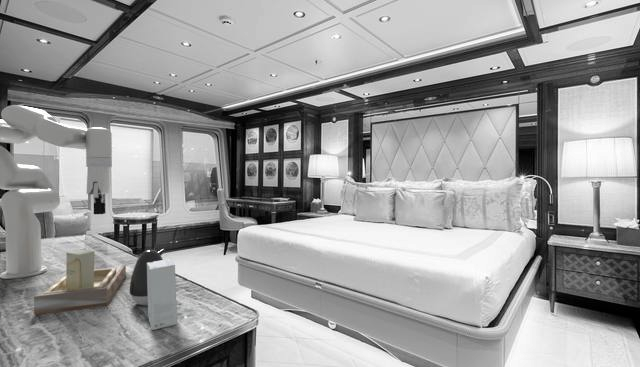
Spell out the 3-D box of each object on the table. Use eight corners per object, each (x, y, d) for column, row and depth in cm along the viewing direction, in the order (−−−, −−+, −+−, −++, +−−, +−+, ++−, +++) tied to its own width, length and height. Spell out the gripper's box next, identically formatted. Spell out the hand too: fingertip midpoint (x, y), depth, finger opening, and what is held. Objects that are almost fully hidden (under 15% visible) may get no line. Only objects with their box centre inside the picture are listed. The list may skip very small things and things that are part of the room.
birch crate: (69, 284, 102) (69, 272, 102) (116, 279, 107) (116, 267, 107) (43, 308, 84) (43, 293, 83) (101, 301, 89) (101, 287, 89)
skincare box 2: (177, 325, 77) (177, 265, 76) (149, 331, 74) (149, 269, 73) (172, 312, 84) (171, 257, 83) (146, 318, 80) (146, 260, 80)
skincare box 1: (65, 293, 91) (64, 252, 91) (81, 288, 96) (81, 249, 95) (79, 296, 89) (78, 254, 89) (95, 291, 93) (95, 250, 93)
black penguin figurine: (178, 297, 94) (177, 247, 94) (148, 311, 84) (148, 255, 84) (152, 293, 98) (151, 244, 97) (121, 306, 88) (120, 252, 87)
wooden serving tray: (72, 281, 108) (71, 266, 108) (125, 275, 115) (125, 261, 115) (34, 315, 82) (34, 296, 82) (106, 305, 88) (106, 288, 88)
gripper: (92, 163, 117) (92, 212, 118) (79, 161, 104) (80, 217, 104) (116, 163, 120) (116, 211, 121) (106, 162, 107) (107, 216, 107)
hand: (99, 213), depth 112 cm, fingers closed
